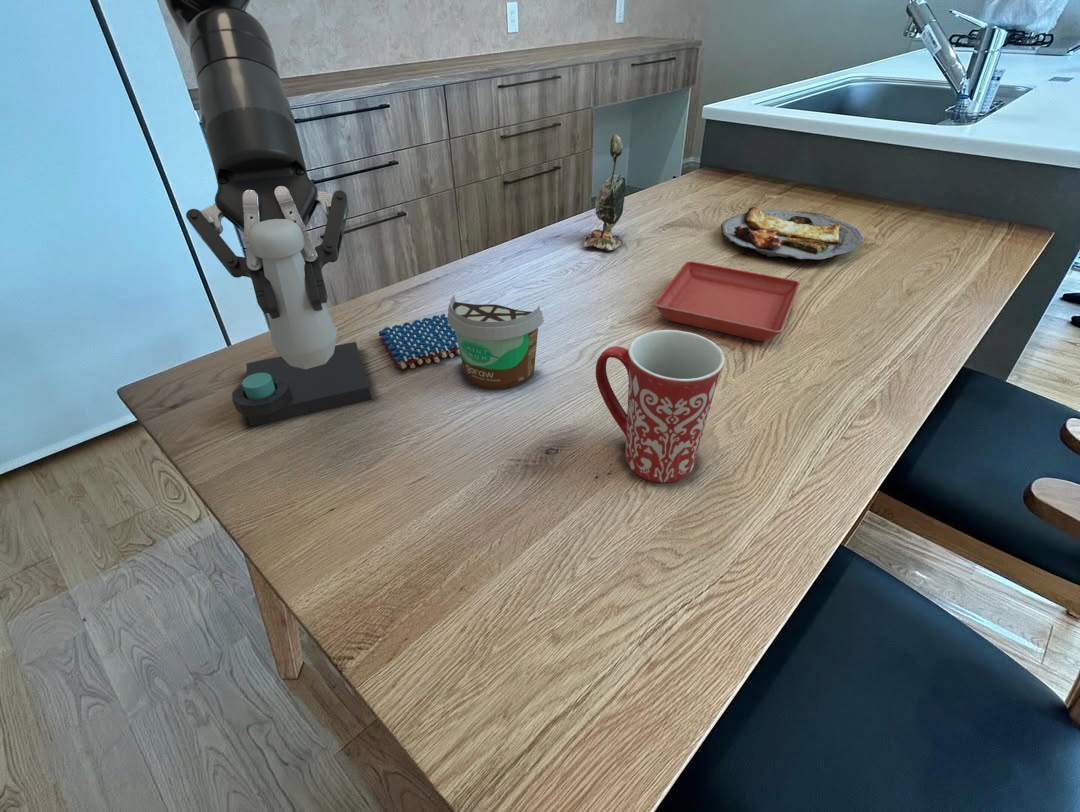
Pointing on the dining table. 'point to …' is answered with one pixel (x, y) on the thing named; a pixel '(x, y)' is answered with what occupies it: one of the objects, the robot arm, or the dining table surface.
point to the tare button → (258, 386)
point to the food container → (495, 343)
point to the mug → (663, 399)
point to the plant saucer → (728, 300)
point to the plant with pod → (609, 204)
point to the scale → (305, 387)
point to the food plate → (791, 233)
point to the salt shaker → (292, 296)
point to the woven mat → (420, 341)
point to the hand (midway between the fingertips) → (296, 310)
